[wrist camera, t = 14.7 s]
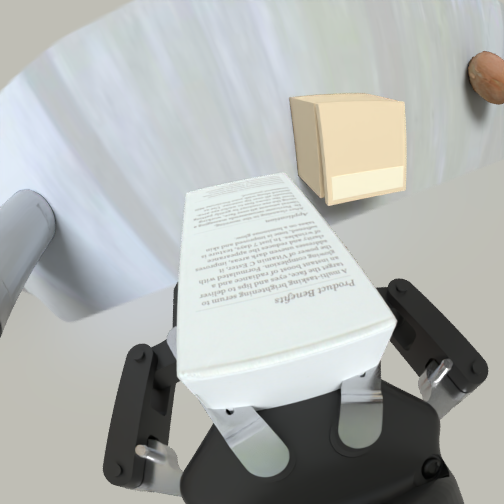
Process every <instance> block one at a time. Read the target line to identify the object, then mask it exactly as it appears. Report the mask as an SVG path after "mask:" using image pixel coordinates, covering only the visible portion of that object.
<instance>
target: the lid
mask: <svg viewBox="0 0 504 504" xmlns="http://www.w3.org/2000/svg"><path fill="white" fill-rule="evenodd" d="M315 106H316V113H317V120H318V128H319V136H320V145H321V155H322V165H323V176H324V189H325V203H326V204H327V205H328V206H331V205H335V204H340V203H345V202H349V201H354V200H359V199H364V198H369V197H374V196H379V195H384V194H389V193H394V192H399V191H404V190H405V189H406V121H405V105H404V102H401V101H347V102H329V103H316V104H315Z"/></svg>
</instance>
